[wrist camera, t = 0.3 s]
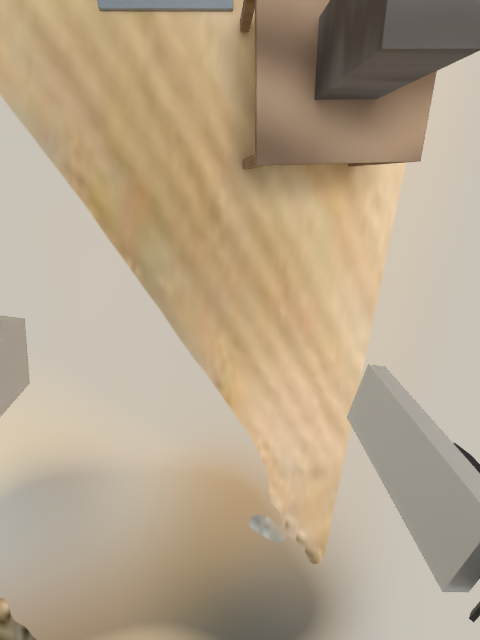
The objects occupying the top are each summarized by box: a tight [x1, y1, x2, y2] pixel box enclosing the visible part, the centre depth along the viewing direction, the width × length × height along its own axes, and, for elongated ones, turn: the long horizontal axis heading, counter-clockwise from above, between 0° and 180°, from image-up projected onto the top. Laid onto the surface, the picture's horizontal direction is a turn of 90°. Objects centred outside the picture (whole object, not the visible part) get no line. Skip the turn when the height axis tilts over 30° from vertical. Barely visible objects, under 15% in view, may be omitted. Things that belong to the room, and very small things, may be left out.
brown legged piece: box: [240, 0, 480, 169], centre depth 23 cm, size 13×13×22 cm
